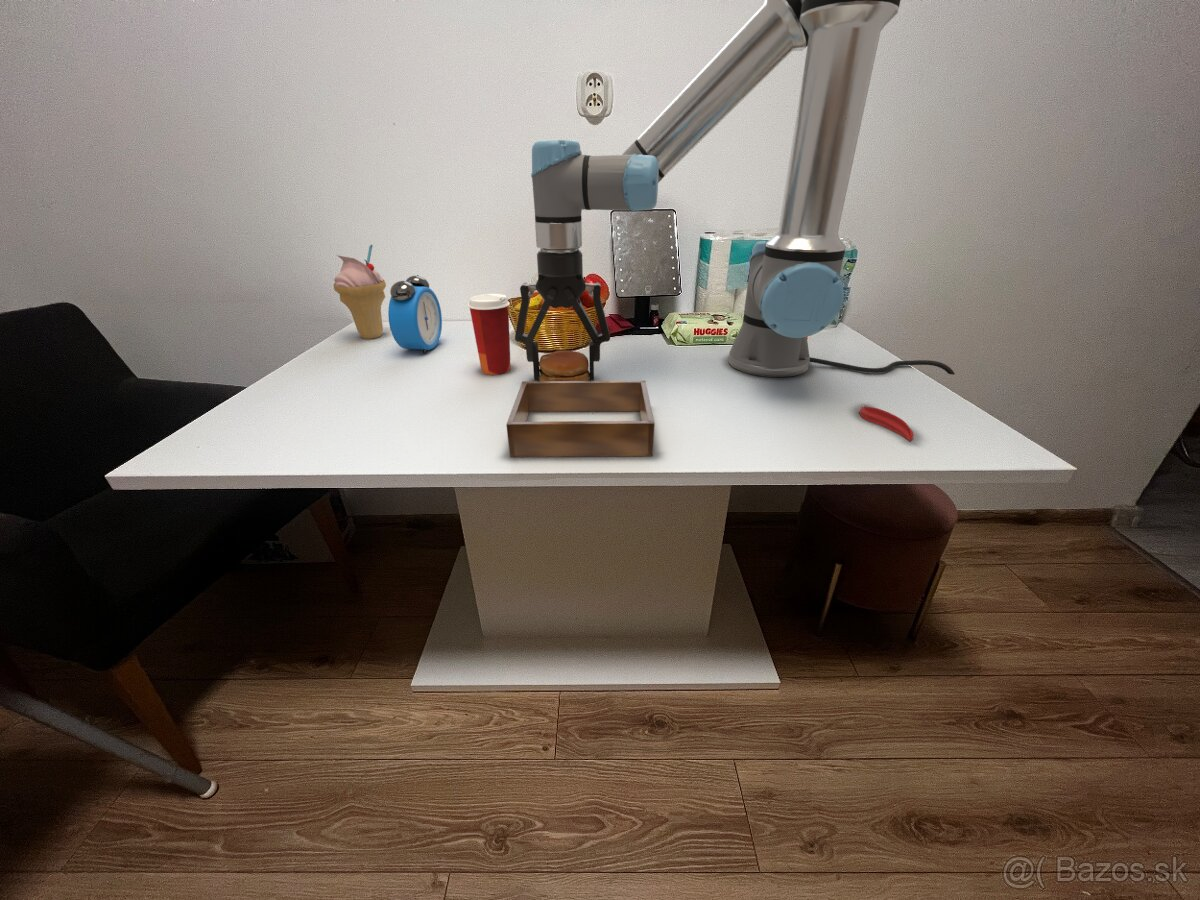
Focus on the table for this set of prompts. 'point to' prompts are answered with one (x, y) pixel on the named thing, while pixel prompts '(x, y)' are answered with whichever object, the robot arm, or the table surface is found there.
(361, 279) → the ice cream cone
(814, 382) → the table surface
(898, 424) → the cayenne pepper
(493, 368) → the paper cup
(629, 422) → the wooden box
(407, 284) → the alarm clock
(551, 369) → the burger
